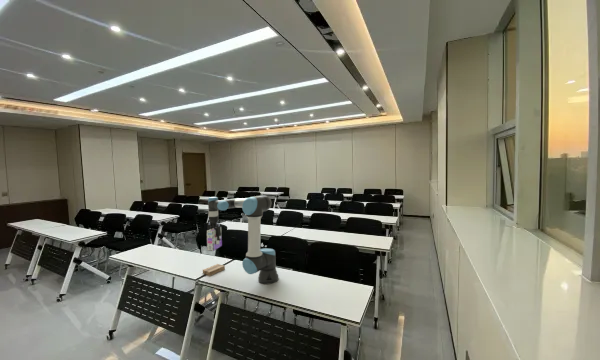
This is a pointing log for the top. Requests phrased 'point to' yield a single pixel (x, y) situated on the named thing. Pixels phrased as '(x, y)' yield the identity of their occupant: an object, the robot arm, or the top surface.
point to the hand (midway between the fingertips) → (214, 243)
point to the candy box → (213, 240)
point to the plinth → (213, 269)
